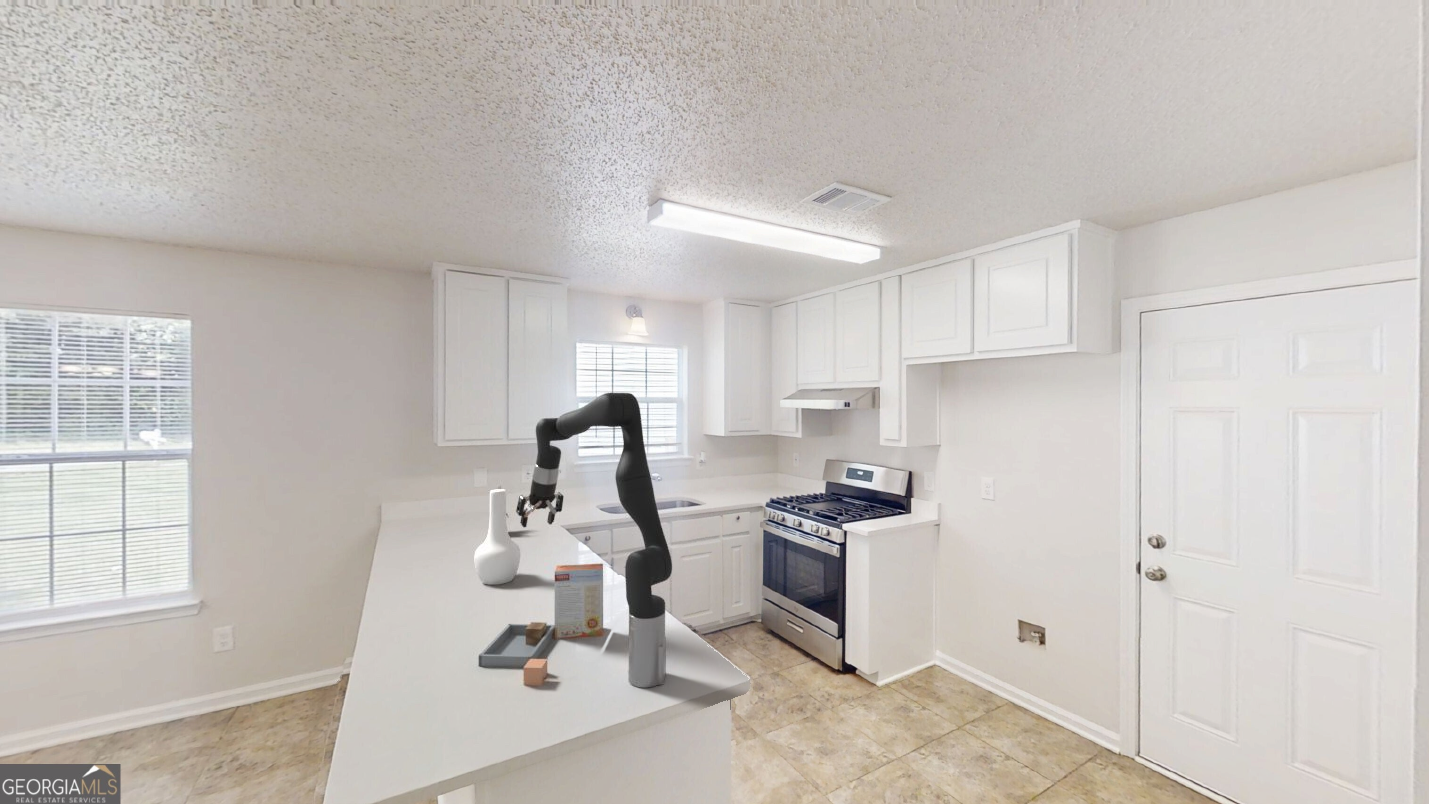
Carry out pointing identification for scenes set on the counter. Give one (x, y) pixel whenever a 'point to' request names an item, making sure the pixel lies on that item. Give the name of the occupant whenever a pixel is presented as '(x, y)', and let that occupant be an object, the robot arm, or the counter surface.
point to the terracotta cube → (535, 672)
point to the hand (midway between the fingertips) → (536, 524)
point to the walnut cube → (535, 632)
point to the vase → (497, 546)
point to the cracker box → (578, 601)
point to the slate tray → (514, 647)
